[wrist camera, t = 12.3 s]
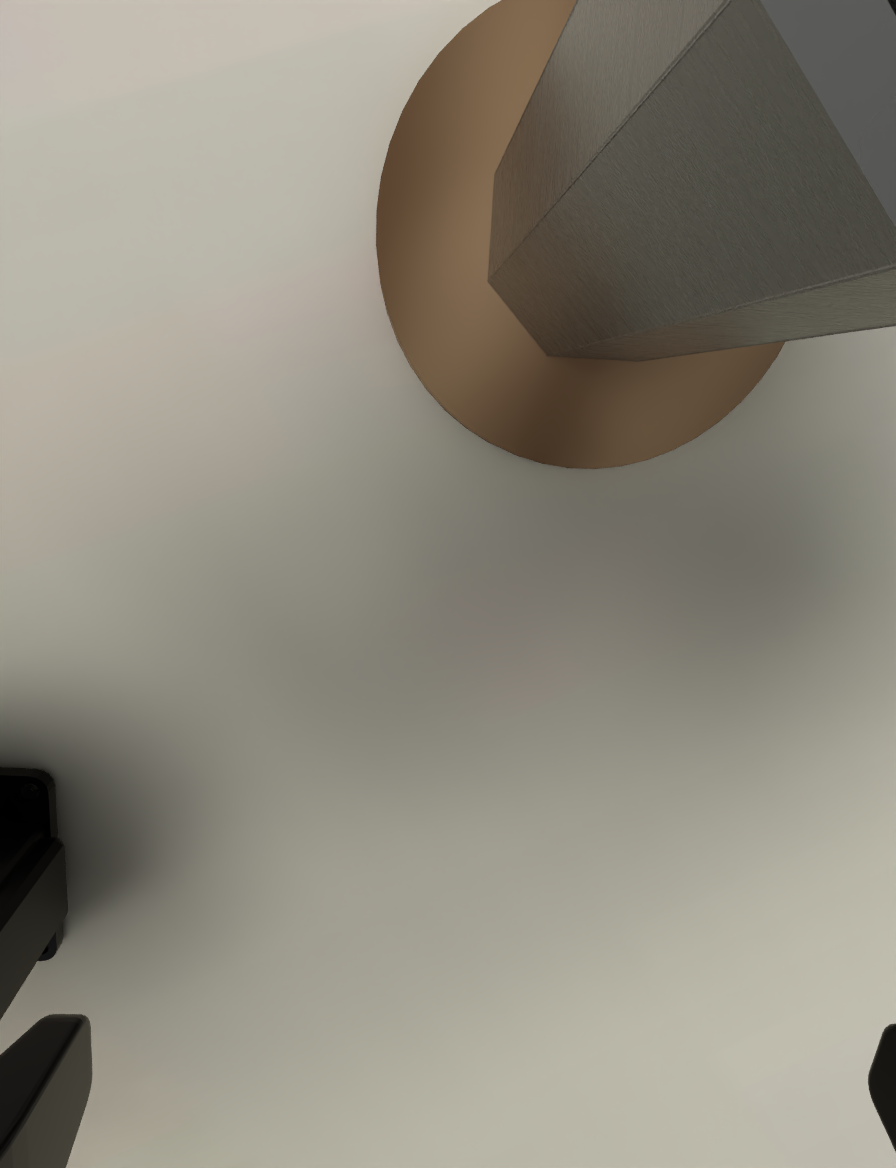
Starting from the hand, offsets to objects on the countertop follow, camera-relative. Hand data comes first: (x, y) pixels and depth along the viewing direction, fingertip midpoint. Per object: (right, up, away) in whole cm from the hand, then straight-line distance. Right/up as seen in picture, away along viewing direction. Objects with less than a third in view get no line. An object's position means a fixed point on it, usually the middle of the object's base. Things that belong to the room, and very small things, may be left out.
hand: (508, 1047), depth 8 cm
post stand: (+3, +14, +10) cm, 17 cm away
